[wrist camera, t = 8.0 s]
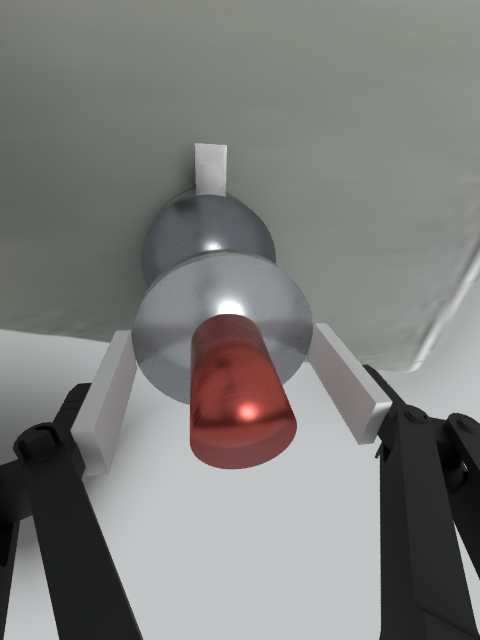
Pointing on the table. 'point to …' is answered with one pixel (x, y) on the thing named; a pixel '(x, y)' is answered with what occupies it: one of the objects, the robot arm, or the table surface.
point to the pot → (204, 219)
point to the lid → (226, 351)
